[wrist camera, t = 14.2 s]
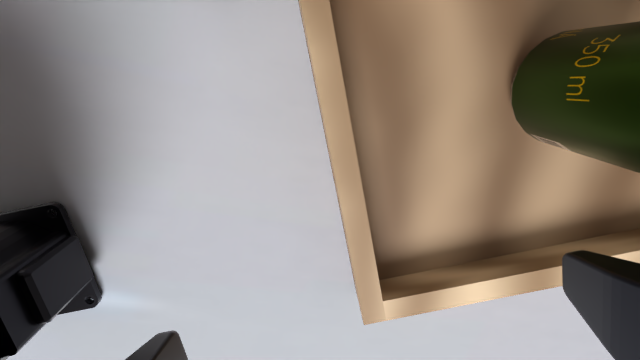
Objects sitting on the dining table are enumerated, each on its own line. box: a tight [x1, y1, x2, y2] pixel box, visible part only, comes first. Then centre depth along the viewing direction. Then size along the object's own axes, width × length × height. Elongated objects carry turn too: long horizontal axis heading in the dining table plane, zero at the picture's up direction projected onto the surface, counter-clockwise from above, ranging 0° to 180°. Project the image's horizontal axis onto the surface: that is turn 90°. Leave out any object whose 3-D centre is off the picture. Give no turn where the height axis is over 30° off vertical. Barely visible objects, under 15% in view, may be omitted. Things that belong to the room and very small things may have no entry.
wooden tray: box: [298, 0, 640, 325], centre depth 19 cm, size 18×18×3 cm
